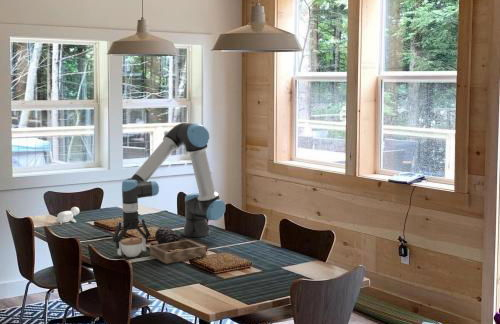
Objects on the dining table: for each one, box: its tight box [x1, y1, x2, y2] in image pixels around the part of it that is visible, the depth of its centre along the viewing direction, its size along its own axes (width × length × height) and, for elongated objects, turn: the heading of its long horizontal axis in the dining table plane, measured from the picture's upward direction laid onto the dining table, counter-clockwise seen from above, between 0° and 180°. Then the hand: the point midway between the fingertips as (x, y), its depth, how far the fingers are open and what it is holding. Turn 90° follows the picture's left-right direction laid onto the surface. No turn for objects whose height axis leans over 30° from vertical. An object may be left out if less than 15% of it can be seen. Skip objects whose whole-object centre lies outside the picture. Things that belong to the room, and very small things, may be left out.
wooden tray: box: [149, 238, 207, 264], centre depth 363 cm, size 22×18×5 cm
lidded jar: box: [120, 236, 143, 258], centre depth 365 cm, size 11×11×9 cm
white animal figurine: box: [54, 206, 80, 225], centre depth 444 cm, size 8×8×15 cm
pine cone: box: [154, 226, 180, 244], centre depth 382 cm, size 10×18×10 cm, turn 38°
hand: (132, 252), depth 366 cm, fingers open, 13 cm apart
